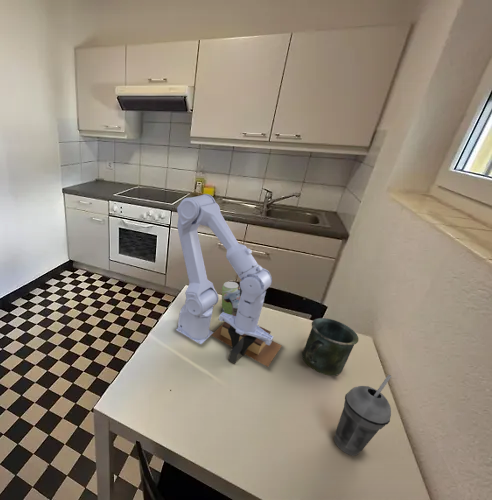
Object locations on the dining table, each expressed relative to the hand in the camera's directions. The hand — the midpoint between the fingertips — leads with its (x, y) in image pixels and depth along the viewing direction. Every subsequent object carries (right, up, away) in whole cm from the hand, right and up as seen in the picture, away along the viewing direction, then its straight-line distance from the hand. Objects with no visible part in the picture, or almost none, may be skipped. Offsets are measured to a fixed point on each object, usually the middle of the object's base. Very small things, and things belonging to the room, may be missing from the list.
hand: (238, 350), depth 80 cm
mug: (+23, -4, 0) cm, 23 cm away
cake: (+3, +2, +10) cm, 10 cm away
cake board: (+5, 0, +8) cm, 9 cm away
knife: (+3, 0, +4) cm, 5 cm away
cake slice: (+8, 0, +6) cm, 10 cm away
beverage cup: (+16, -13, -20) cm, 29 cm away
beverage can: (+3, +6, +21) cm, 22 cm away
